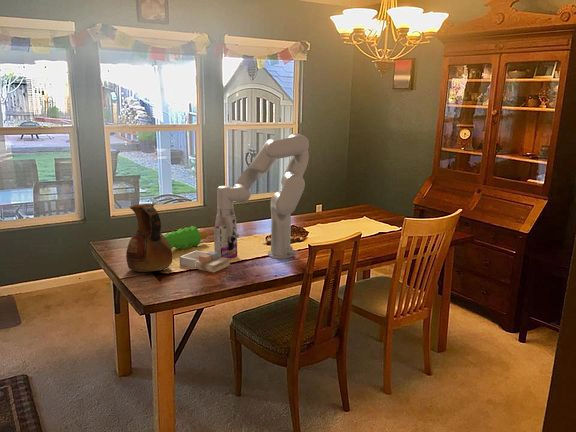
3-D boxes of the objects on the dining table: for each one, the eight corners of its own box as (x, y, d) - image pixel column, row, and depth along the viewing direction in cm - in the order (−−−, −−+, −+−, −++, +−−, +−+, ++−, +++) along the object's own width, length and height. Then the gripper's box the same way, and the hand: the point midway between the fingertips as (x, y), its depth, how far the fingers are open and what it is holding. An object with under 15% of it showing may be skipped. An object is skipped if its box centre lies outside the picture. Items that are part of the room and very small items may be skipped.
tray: (211, 261, 240) (211, 253, 239) (195, 268, 230) (194, 259, 229) (196, 258, 244) (196, 250, 244) (179, 265, 234) (179, 256, 233)
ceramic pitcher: (154, 260, 241) (152, 197, 234) (182, 269, 228) (180, 204, 222) (118, 270, 226) (114, 203, 219) (145, 280, 213) (142, 211, 207)
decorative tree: (207, 221, 265) (158, 229, 243) (213, 243, 264) (164, 253, 242) (194, 226, 273) (146, 234, 250) (199, 247, 272) (151, 257, 250)
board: (229, 265, 235) (229, 258, 235) (213, 272, 225) (213, 265, 224) (212, 261, 240) (212, 255, 239) (196, 268, 230) (195, 261, 229)
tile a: (218, 257, 236) (218, 252, 235) (212, 259, 232) (212, 254, 232) (211, 256, 238) (211, 251, 237) (205, 258, 234) (205, 253, 234)
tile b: (211, 260, 232) (211, 255, 231) (206, 262, 228) (205, 257, 228) (204, 258, 233) (204, 253, 233) (198, 261, 230) (198, 256, 230)
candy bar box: (230, 254, 252) (229, 222, 248) (237, 256, 249) (237, 223, 245) (213, 259, 243) (213, 226, 239) (221, 261, 240) (220, 227, 236)
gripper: (245, 212, 240) (245, 249, 244) (215, 208, 248) (216, 244, 252) (235, 215, 234) (236, 253, 238) (205, 211, 242) (206, 248, 246)
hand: (225, 248), depth 245 cm, fingers closed on candy bar box, 5 cm apart
